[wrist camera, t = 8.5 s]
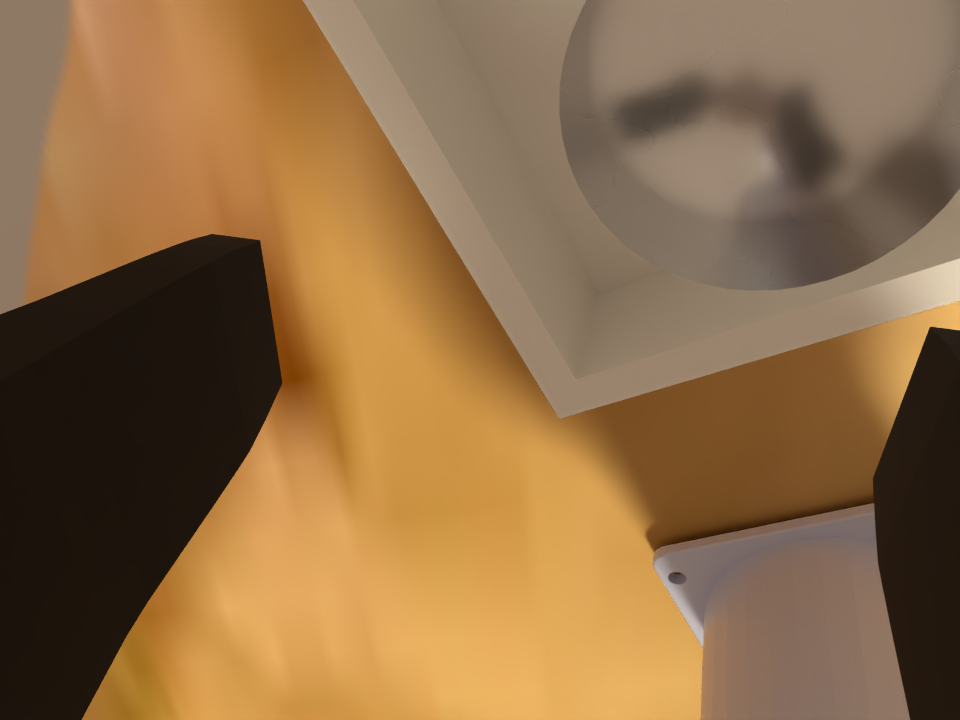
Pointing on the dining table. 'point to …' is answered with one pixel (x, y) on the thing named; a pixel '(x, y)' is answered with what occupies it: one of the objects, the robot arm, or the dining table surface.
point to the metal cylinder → (763, 131)
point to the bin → (579, 211)
